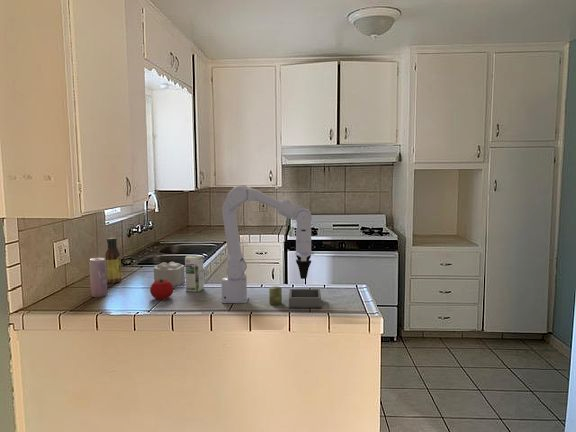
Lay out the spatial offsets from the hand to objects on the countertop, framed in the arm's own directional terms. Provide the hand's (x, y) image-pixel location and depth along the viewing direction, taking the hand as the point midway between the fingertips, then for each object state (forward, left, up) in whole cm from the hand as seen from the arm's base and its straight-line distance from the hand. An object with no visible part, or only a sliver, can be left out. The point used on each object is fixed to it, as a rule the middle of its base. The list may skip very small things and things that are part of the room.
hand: (303, 275), depth 164 cm
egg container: (-60, +27, -10) cm, 67 cm away
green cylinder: (-11, -3, -10) cm, 15 cm away
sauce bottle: (-85, +28, -10) cm, 90 cm away
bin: (+1, -3, -10) cm, 10 cm away
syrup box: (-45, +15, -10) cm, 49 cm away
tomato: (-56, +3, -10) cm, 57 cm away
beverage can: (-82, +7, -10) cm, 83 cm away
